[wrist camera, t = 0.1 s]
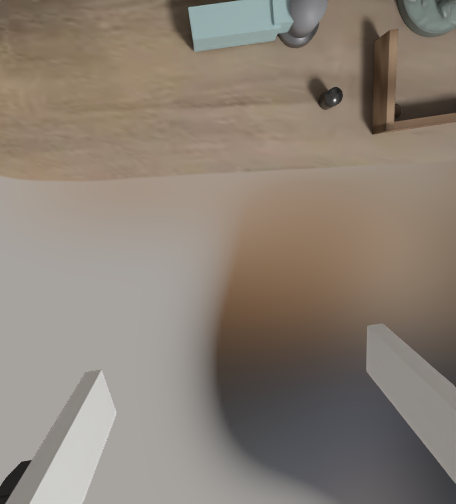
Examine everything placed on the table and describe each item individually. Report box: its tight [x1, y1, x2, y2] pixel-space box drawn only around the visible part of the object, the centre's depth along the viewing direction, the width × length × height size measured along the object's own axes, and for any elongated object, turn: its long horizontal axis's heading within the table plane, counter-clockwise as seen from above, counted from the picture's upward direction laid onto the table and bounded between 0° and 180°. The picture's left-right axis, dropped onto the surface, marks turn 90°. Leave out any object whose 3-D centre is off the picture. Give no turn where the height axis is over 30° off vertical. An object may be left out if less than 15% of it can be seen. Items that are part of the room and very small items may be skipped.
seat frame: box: [372, 29, 456, 134], centre depth 34 cm, size 11×16×3 cm
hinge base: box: [278, 22, 343, 110], centre depth 32 cm, size 12×7×2 cm, turn 8°
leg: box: [188, 0, 327, 52], centre depth 30 cm, size 4×15×4 cm, turn 98°
